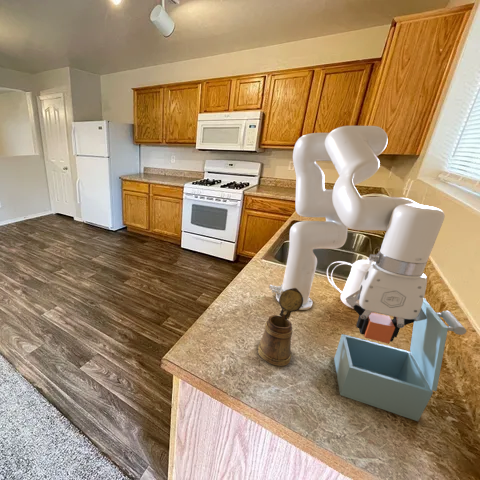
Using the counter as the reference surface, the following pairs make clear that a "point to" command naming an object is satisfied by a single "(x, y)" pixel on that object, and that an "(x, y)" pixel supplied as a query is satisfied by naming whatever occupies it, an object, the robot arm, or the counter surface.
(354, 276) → the coffeepot
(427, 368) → the lid
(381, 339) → the block
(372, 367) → the chest
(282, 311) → the wooden mug
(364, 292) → the robot arm
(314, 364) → the counter surface
